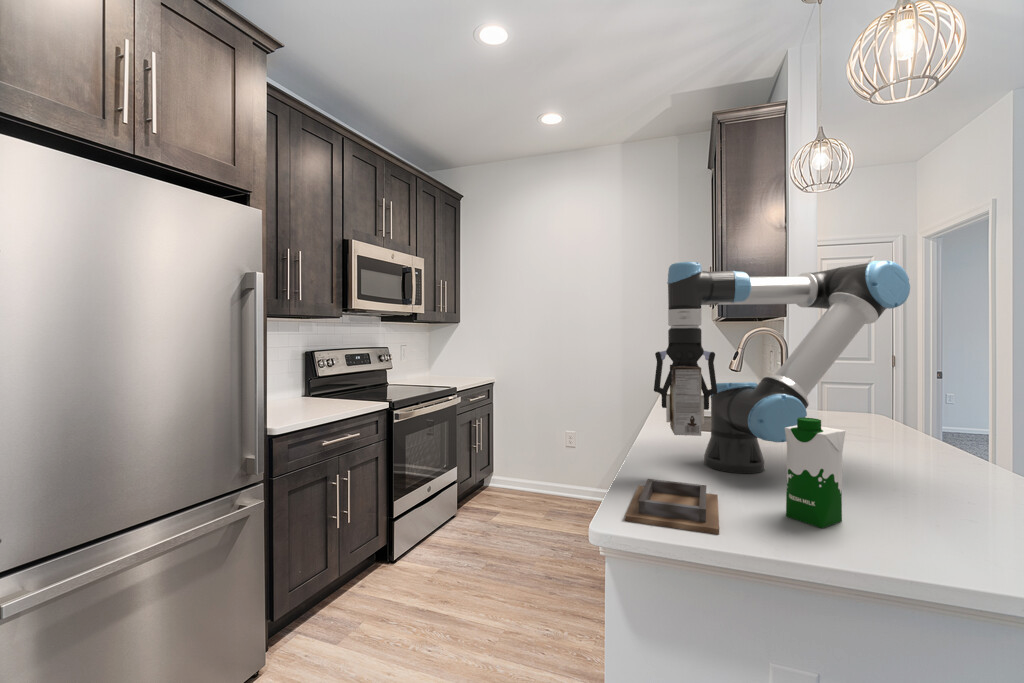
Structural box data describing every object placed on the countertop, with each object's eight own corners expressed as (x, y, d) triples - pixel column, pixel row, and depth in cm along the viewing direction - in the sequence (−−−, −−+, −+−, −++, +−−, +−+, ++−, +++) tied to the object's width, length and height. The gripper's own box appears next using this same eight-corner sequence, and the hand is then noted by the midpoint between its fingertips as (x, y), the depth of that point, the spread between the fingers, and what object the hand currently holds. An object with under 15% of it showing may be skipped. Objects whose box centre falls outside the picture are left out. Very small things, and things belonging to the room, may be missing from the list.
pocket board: (717, 499, 107) (717, 483, 107) (719, 534, 88) (719, 515, 88) (638, 489, 113) (638, 474, 113) (625, 520, 95) (625, 503, 95)
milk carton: (778, 515, 97) (779, 416, 97) (804, 507, 102) (805, 413, 101) (824, 531, 90) (826, 424, 89) (850, 522, 94) (851, 419, 94)
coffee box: (669, 427, 122) (668, 364, 122) (696, 428, 121) (695, 364, 120) (673, 435, 113) (673, 366, 113) (702, 436, 112) (702, 366, 111)
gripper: (640, 327, 117) (640, 422, 117) (730, 326, 109) (731, 427, 110) (644, 327, 124) (644, 417, 124) (729, 326, 116) (729, 421, 117)
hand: (685, 422), depth 117 cm, fingers closed on coffee box, 7 cm apart
